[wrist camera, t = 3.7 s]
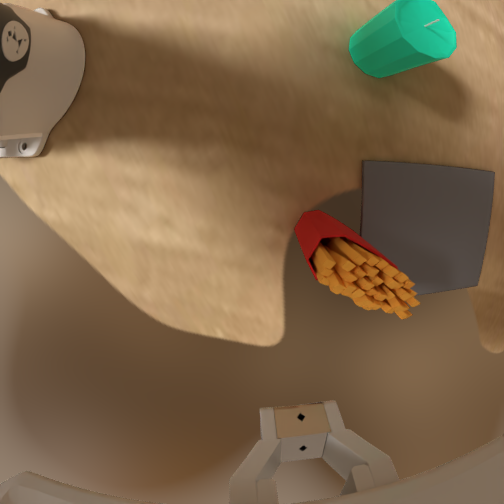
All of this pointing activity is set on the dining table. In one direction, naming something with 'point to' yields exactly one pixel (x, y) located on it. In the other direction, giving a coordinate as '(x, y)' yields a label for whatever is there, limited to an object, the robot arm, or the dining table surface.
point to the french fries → (353, 265)
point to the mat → (428, 221)
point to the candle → (402, 38)
